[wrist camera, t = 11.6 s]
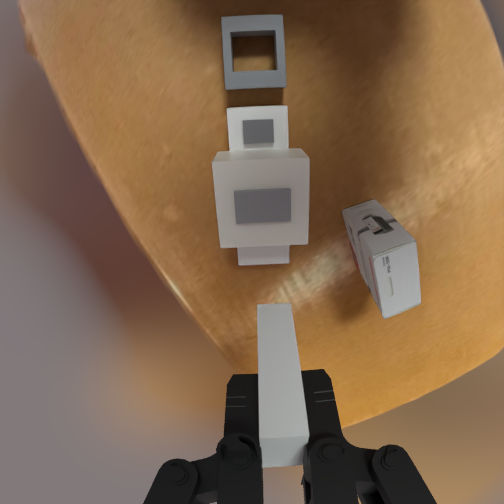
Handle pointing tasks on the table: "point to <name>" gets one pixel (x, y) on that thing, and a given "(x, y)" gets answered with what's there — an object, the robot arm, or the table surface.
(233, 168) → the plug
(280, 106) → the socket
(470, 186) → the table surface
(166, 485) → the robot arm
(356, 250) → the ink box
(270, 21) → the plug rest
